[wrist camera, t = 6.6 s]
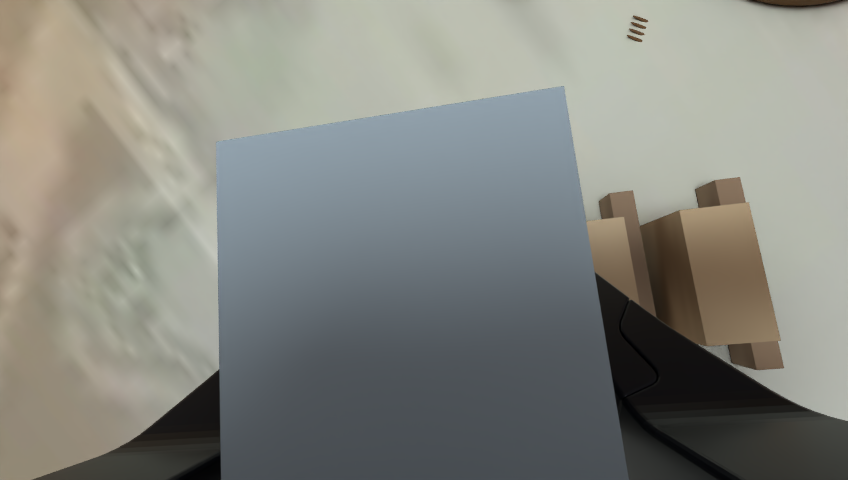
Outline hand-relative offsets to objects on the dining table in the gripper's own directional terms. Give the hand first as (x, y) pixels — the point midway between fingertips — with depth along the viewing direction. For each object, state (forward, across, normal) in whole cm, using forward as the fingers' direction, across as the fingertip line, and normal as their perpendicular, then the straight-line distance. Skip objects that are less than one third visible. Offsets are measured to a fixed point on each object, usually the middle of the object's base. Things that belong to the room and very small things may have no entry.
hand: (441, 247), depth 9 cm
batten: (+4, 0, +6) cm, 7 cm away
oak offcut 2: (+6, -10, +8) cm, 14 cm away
